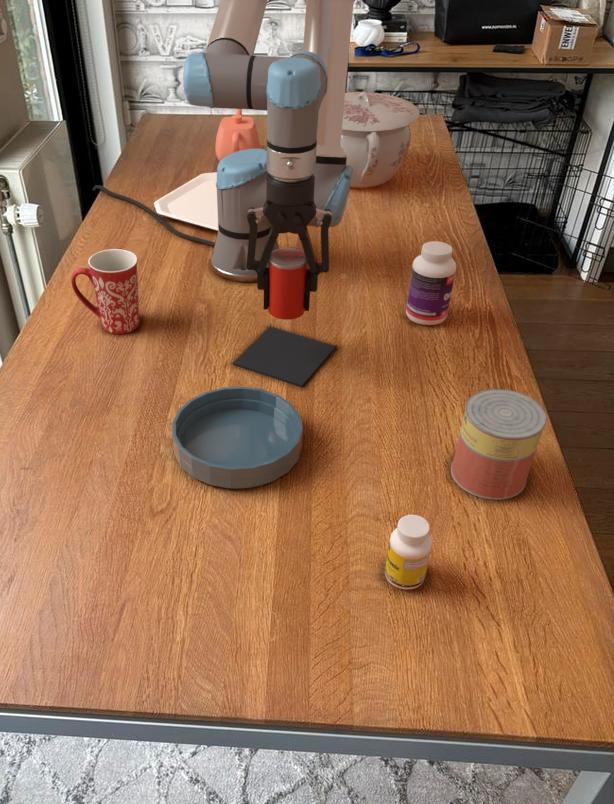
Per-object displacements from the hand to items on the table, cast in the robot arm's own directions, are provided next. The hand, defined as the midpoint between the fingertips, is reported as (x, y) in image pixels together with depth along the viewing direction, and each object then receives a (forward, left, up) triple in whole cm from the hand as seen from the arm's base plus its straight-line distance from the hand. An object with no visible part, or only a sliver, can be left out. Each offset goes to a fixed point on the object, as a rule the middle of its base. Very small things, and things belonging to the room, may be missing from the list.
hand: (286, 305), depth 135 cm
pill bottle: (+8, +30, -11) cm, 33 cm away
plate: (-56, +32, -11) cm, 65 cm away
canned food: (+44, +2, -11) cm, 45 cm away
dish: (+14, -23, -10) cm, 29 cm away
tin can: (0, 0, -1) cm, 1 cm away
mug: (-30, -18, -11) cm, 37 cm away
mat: (0, 0, -10) cm, 10 cm away
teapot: (-77, +53, -11) cm, 94 cm away
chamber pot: (-48, +69, -11) cm, 85 cm away
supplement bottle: (+49, -23, -11) cm, 55 cm away
